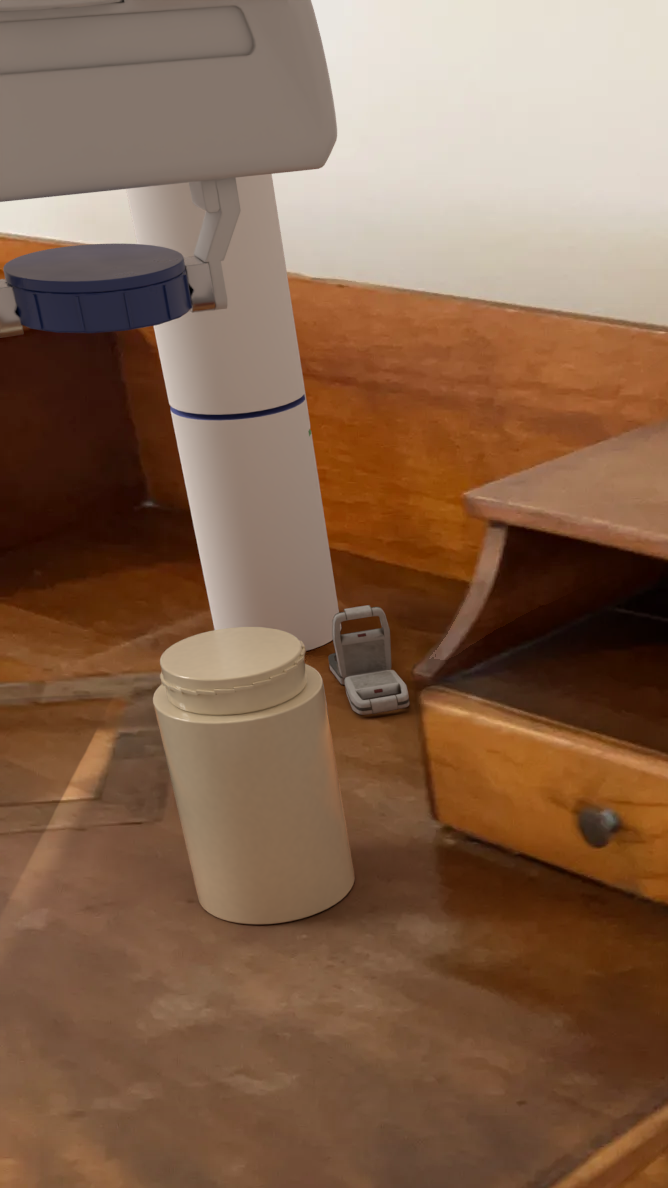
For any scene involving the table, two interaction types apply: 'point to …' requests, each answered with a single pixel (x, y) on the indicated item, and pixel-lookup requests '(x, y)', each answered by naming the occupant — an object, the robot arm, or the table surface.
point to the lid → (99, 287)
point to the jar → (254, 775)
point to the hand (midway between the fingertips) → (107, 321)
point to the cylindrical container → (244, 422)
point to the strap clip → (367, 664)
